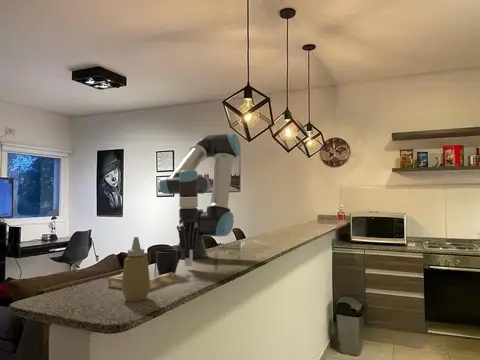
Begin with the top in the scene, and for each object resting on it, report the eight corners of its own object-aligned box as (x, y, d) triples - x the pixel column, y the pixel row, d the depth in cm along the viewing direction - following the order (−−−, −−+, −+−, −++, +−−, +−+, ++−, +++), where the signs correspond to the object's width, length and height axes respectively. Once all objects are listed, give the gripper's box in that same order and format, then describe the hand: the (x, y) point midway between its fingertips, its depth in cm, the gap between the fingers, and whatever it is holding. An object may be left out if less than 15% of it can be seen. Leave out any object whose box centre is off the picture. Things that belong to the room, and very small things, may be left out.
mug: (188, 273, 141) (188, 248, 141) (168, 279, 131) (168, 253, 131) (172, 271, 145) (172, 247, 145) (151, 277, 134) (151, 251, 135)
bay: (142, 277, 135) (142, 269, 135) (174, 281, 128) (174, 272, 128) (108, 286, 121) (108, 277, 121) (141, 291, 114) (141, 282, 114)
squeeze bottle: (117, 299, 106) (117, 237, 107) (142, 294, 111) (143, 235, 112) (128, 305, 100) (128, 239, 101) (155, 299, 105) (155, 237, 106)
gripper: (190, 207, 157) (190, 262, 155) (171, 208, 145) (171, 267, 144) (205, 207, 153) (205, 263, 152) (186, 208, 142) (186, 269, 140)
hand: (188, 265), depth 148 cm, fingers closed
